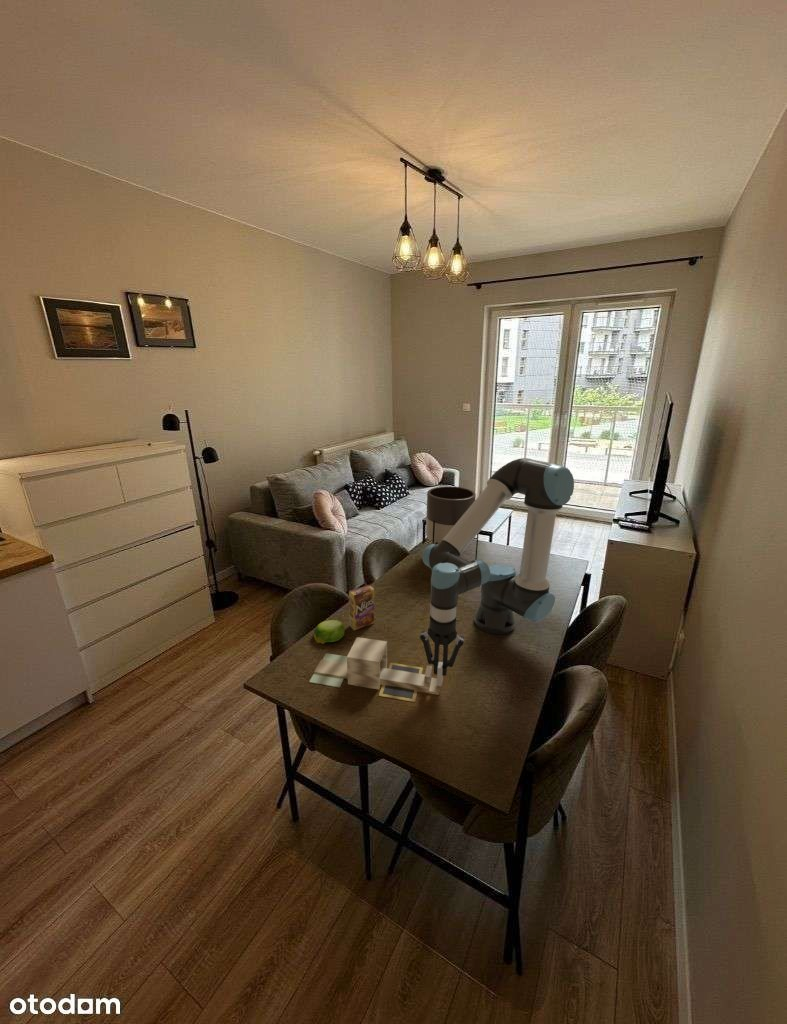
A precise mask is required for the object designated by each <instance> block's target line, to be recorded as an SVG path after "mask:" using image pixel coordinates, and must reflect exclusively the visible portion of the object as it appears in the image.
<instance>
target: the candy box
mask: <svg viewBox="0 0 787 1024" xmlns="http://www.w3.org/2000/svg"><path fill="white" fill-rule="evenodd" d="M348 618H349V619H348V623H349V624H348V625H349V627H350V628H351V629H352V630H353V631H356V630H359V629H361V628H365V627H367V626H370V625H373V624H374V623H375V588H374V587H373V586H371V585H370V584H367V585H364V586H362V587H358V588H354V589H352V590H349V591H348Z"/></svg>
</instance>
